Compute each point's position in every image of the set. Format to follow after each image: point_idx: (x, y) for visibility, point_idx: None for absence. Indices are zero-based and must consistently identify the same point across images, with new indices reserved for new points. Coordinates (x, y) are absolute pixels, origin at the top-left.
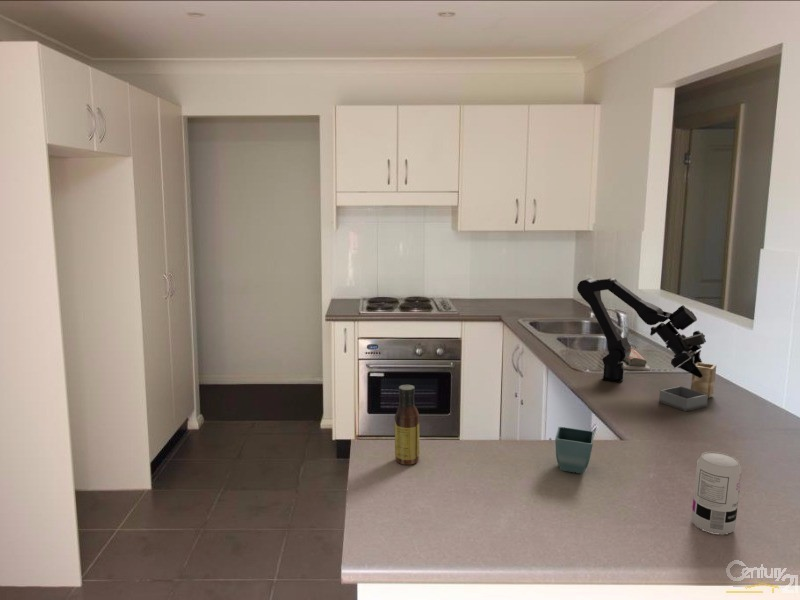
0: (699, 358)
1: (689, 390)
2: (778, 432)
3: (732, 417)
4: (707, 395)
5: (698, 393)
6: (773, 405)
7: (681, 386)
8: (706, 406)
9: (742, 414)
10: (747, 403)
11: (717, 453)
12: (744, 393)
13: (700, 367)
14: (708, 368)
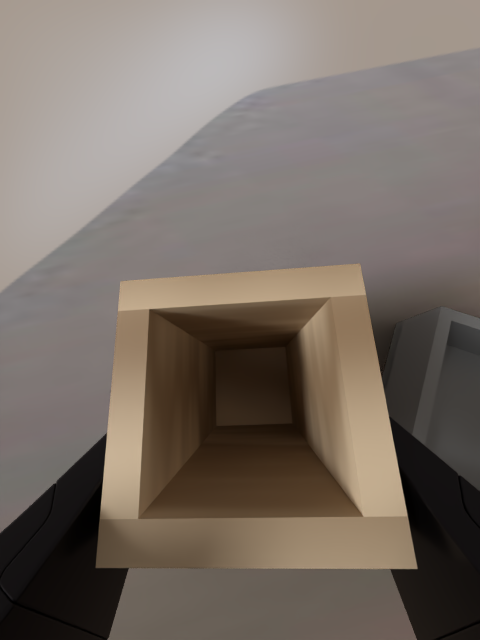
0: (2, 591)
1: (423, 431)
2: (471, 80)
3: (449, 211)
4: (443, 308)
5: (435, 365)
6: (181, 150)
7: None
8: (399, 323)
9: (376, 195)
10: (219, 214)
11: None
12: (87, 252)
13: (388, 429)
14: (366, 316)
